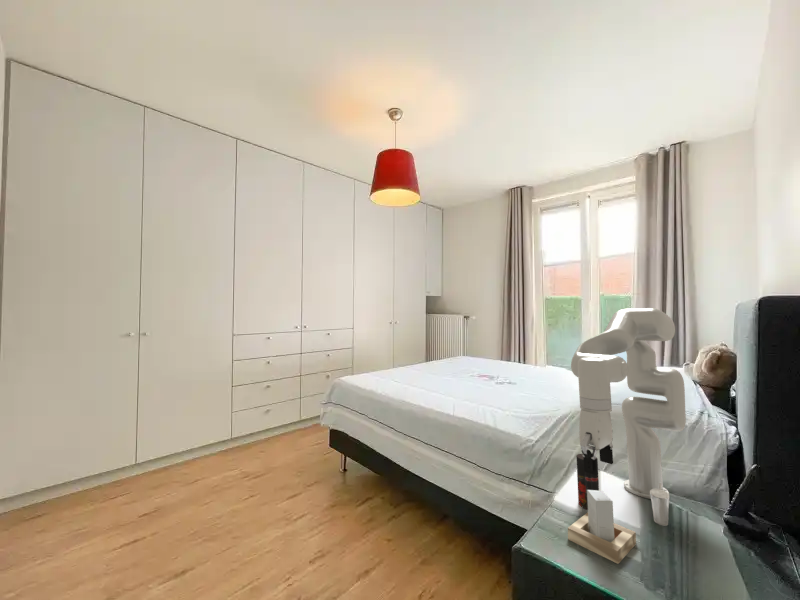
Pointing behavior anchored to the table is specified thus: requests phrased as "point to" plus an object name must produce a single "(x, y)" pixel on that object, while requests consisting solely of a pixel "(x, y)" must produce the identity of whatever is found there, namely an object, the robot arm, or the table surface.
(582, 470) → the deodorant
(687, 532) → the table surface
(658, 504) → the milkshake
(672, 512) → the table surface
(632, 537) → the holder
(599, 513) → the skincare box
